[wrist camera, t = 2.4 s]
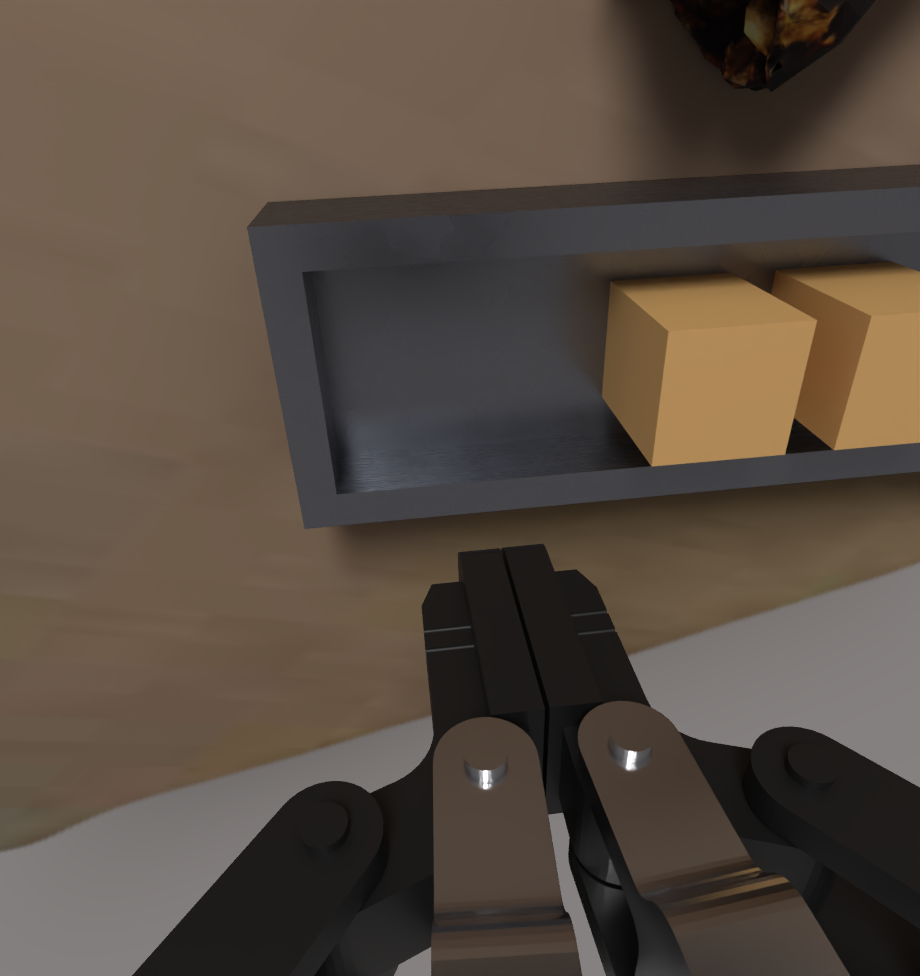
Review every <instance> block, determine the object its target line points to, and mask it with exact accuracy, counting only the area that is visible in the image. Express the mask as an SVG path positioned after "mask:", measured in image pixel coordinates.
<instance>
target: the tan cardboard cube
mask: <svg viewBox="0 0 920 976" xmlns="http://www.w3.org/2000/svg"><path fill="white" fill-rule="evenodd" d="M816 323H817V320H816V319H814V318H812V317H811V316H809V315H807V314H805V313H803V312H801V311H800V310H798V309H796V308H794V307H792V306H791V305H789V304H787V303H785V302H783V301H782V300H780V299H778V298H776V297H774V296H772V295H771V294H769V293H767V292H765V291H763V290H762V289H760V288H758V287H756V286H754V285H752V284H751V283H749V282H747V281H745V280H743V279H742V278H740V277H738V276H736V275H734V274H733V273H722V274H708V275H693V276H679V277H664V278H650V279H635V280H621V281H611V283H610V296H609V309H608V322H607V335H606V349H605V362H604V375H603V388H602V398H603V399H604V401H605V402H606V403H607V405H608V406H609V408H610V409H611V410H612V412H613V413H614V415H615V416H616V417H617V419H618V420H619V422H620V423H621V424H622V426H623V427H624V429H625V430H626V431H627V433H628V434H629V436H630V437H631V438H632V440H633V441H634V443H635V444H636V445H637V447H638V448H639V450H640V451H641V452H642V454H643V455H644V457H645V458H646V459H647V461H648V462H649V464H650V465H651V466H652V467H653V466H664V465H675V464H686V463H697V462H708V461H719V460H731V459H742V458H753V457H764V456H775V455H785V452H786V448H787V444H788V440H789V436H790V432H791V427H792V423H793V419H794V415H795V411H796V407H797V402H798V398H799V394H800V390H801V386H802V382H803V377H804V373H805V369H806V365H807V361H808V357H809V352H810V348H811V344H812V340H813V336H814V332H815V327H816Z"/></svg>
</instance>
